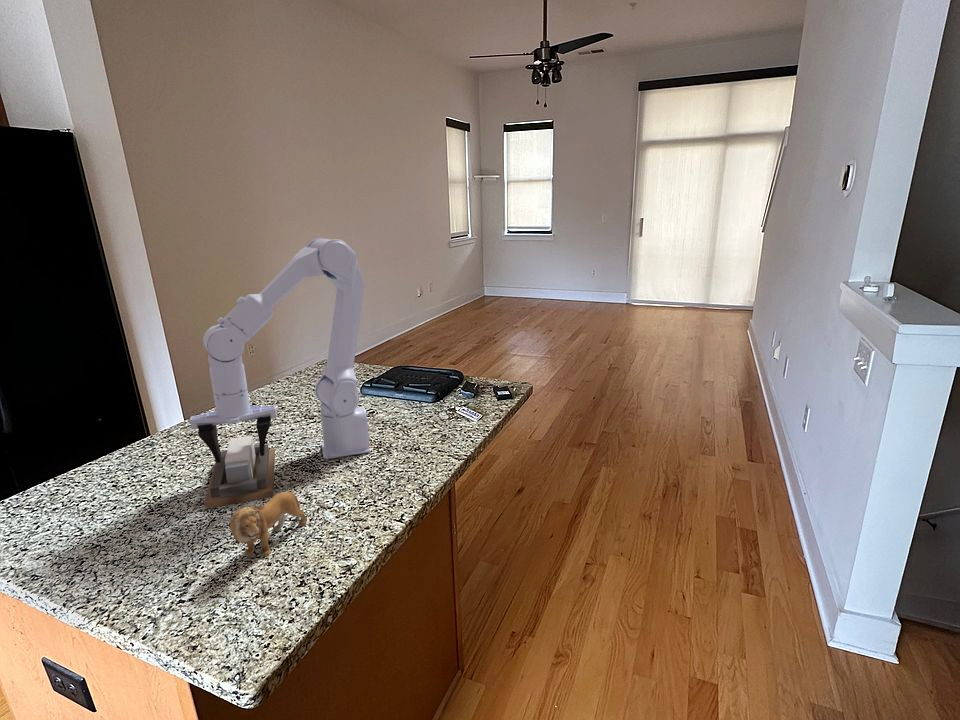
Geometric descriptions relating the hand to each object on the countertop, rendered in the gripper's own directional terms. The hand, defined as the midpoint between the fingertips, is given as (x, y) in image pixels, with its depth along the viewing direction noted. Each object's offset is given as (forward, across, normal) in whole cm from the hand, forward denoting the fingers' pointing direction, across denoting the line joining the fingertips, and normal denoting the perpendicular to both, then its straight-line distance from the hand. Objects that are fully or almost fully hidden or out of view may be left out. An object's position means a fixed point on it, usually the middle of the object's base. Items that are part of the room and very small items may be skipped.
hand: (241, 457), depth 98 cm
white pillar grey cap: (+3, 0, 0) cm, 3 cm away
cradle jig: (+4, 0, -1) cm, 4 cm away
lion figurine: (+4, +6, -24) cm, 26 cm away
